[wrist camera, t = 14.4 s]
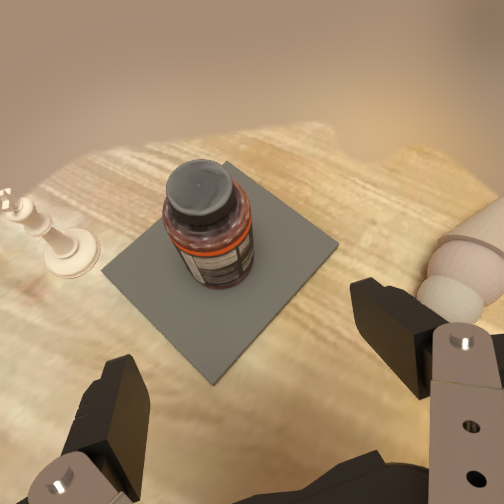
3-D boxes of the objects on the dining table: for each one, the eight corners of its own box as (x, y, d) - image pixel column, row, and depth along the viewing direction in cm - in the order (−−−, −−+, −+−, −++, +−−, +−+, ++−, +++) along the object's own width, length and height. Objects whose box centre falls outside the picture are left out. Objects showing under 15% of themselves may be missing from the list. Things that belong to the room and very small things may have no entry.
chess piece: (45, 283, 31) (-43, 231, 22) (48, 235, 33) (-32, 170, 24) (100, 273, 32) (34, 217, 23) (100, 226, 34) (39, 158, 25)
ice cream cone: (503, 203, 33) (420, 332, 31) (474, 157, 31) (382, 293, 28) (584, 202, 28) (491, 360, 25) (556, 146, 25) (451, 314, 23)
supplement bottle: (191, 228, 32) (158, 142, 22) (256, 230, 32) (253, 144, 21) (182, 290, 30) (139, 226, 19) (252, 293, 29) (246, 230, 19)
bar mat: (213, 385, 27) (211, 385, 26) (105, 274, 32) (100, 270, 31) (337, 248, 32) (339, 243, 31) (227, 167, 36) (227, 160, 35)
